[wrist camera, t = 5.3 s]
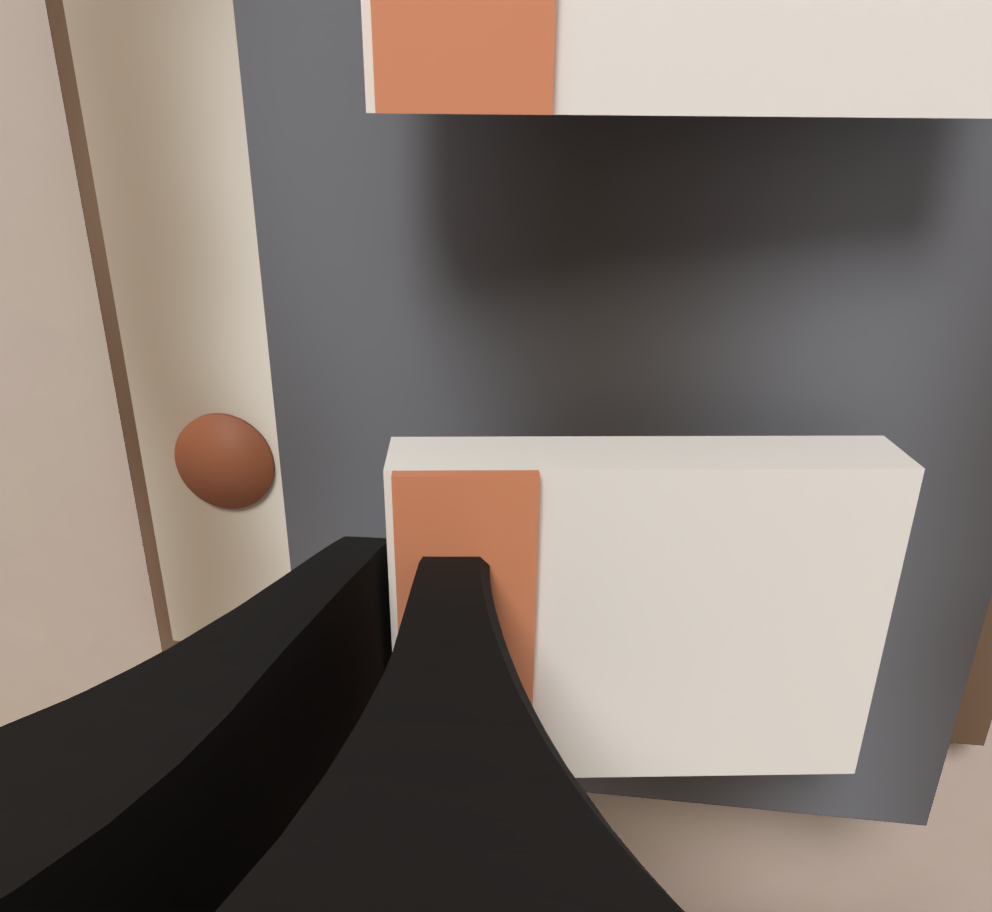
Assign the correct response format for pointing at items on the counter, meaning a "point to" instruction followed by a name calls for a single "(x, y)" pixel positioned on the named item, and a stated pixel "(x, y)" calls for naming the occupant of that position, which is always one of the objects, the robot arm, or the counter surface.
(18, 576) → the counter surface
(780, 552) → the block
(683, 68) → the block
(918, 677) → the switch unit
